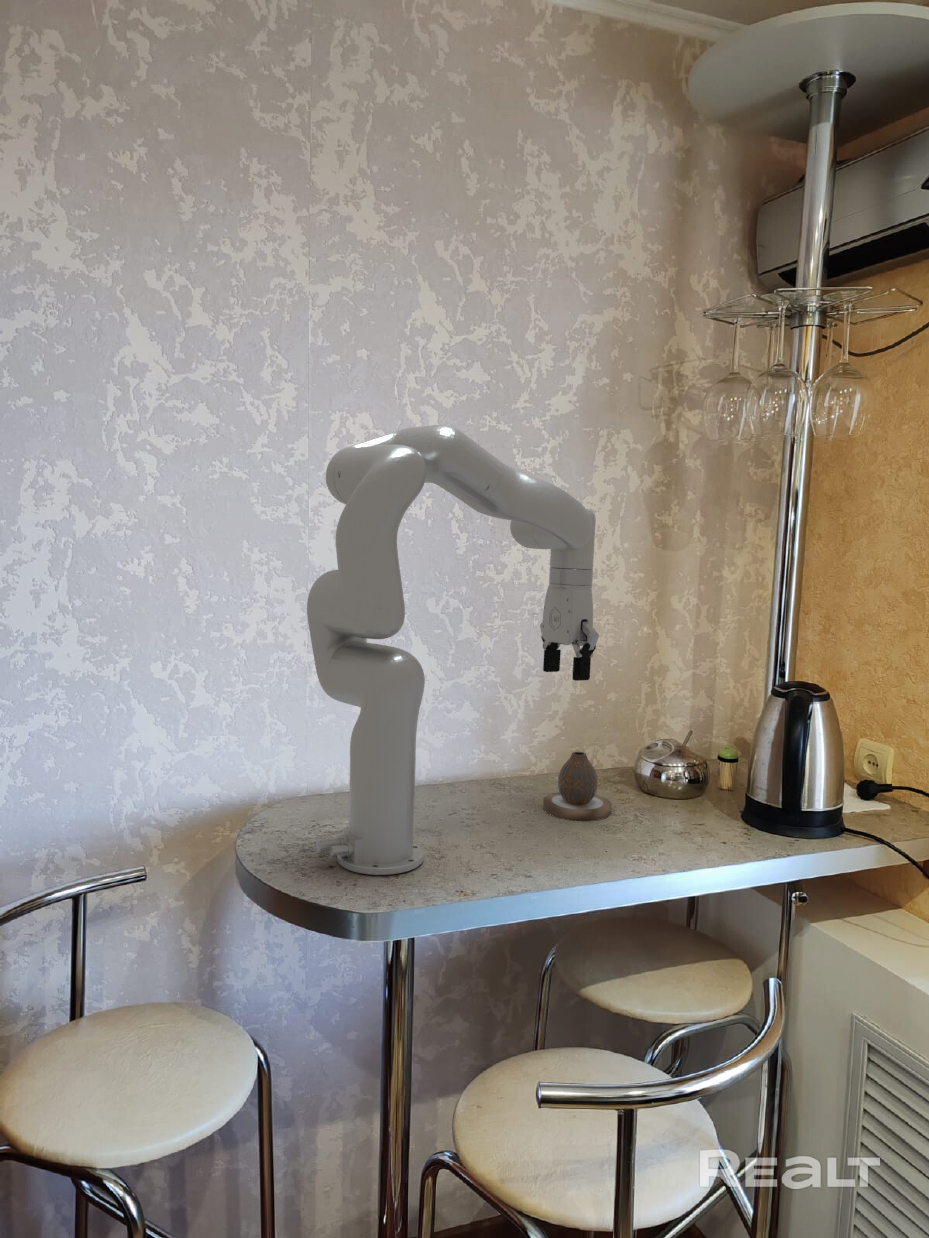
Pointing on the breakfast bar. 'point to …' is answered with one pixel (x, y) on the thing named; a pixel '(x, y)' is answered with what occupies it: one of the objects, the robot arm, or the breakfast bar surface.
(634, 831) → the breakfast bar surface
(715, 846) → the breakfast bar surface
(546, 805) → the stand
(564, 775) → the vase
